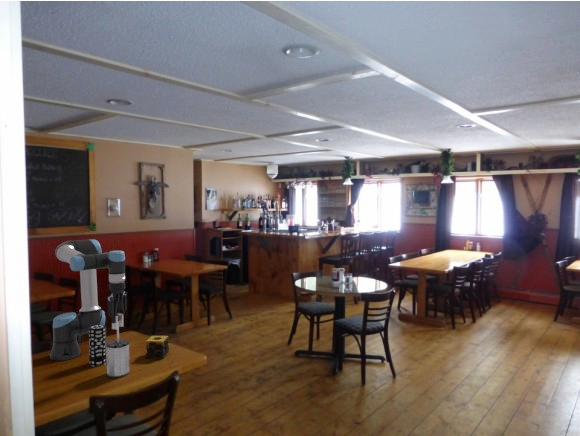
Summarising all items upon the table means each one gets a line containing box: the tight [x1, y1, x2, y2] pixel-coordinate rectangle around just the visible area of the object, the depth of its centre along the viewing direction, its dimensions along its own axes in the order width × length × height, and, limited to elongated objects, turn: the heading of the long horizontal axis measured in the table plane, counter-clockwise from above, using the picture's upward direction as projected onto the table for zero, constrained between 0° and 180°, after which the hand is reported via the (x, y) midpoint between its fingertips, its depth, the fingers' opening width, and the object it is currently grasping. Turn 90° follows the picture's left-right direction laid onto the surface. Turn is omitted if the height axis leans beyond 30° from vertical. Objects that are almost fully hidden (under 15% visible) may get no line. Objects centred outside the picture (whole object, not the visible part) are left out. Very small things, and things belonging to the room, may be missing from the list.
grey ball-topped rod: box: [116, 312, 122, 343], centre depth 213 cm, size 8×8×24 cm
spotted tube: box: [88, 324, 107, 367], centre depth 226 cm, size 8×8×20 cm
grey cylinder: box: [106, 338, 130, 379], centre depth 215 cm, size 10×13×16 cm
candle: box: [145, 335, 170, 360], centre depth 238 cm, size 10×10×10 cm
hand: (117, 327), depth 212 cm, fingers closed on grey ball-topped rod, 4 cm apart
